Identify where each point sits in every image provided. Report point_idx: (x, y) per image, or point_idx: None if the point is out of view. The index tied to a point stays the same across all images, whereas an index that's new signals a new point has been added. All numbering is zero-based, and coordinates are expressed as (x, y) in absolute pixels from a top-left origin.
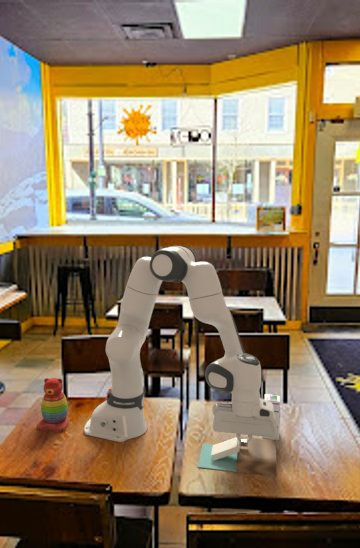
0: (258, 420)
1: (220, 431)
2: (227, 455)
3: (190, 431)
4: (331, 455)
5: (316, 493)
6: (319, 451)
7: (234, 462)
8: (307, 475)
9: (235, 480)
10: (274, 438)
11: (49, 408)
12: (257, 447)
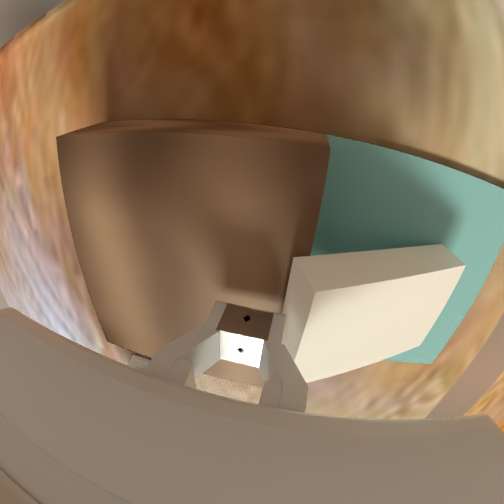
0: (17, 476)
1: (458, 423)
2: (378, 252)
3: (434, 406)
4: (13, 267)
5: (11, 64)
6: (34, 287)
7: (326, 225)
8: (24, 158)
9: (337, 45)
10: (143, 362)
11: None
12: (167, 303)
